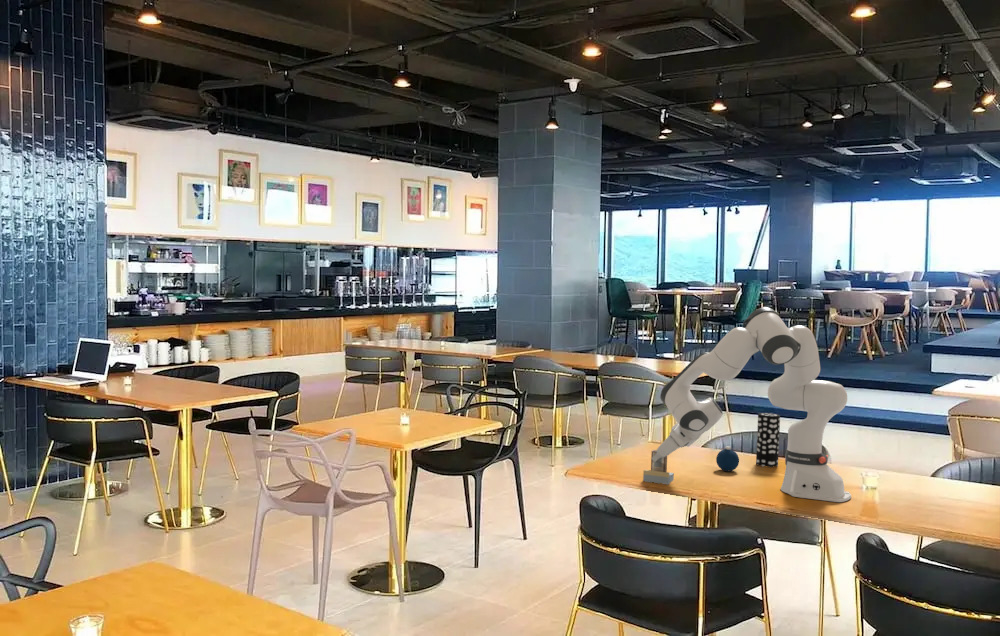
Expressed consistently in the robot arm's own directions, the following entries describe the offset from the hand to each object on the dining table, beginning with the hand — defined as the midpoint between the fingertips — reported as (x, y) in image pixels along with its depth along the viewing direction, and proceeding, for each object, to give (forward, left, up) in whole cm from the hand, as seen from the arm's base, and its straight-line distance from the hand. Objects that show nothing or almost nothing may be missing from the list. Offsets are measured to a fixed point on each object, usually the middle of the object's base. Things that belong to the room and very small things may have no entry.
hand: (655, 458), depth 300 cm
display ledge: (-1, 0, -8) cm, 8 cm away
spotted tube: (-22, -55, -8) cm, 60 cm away
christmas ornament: (-14, -33, -8) cm, 37 cm away
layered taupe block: (-1, 0, -5) cm, 6 cm away
